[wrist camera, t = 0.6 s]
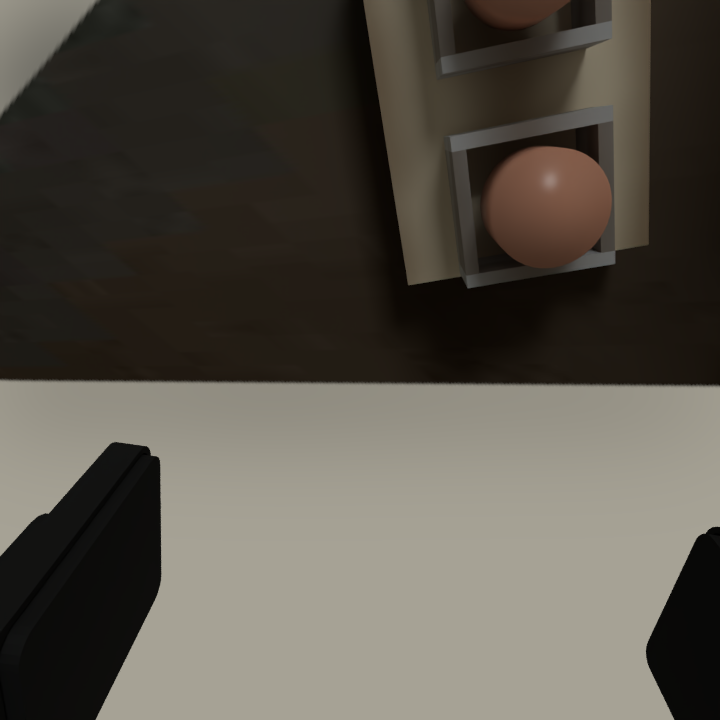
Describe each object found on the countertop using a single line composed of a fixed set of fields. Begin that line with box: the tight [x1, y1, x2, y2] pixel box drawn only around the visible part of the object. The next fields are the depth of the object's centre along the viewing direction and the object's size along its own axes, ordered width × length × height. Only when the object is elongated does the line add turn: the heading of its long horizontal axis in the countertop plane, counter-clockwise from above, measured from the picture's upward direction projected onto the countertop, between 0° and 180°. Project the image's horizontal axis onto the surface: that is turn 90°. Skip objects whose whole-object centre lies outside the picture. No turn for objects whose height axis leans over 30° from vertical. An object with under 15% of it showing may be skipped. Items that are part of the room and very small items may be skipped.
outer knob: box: [480, 146, 612, 268], centre depth 23 cm, size 5×5×3 cm
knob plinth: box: [363, 0, 651, 288], centre depth 26 cm, size 12×16×7 cm
